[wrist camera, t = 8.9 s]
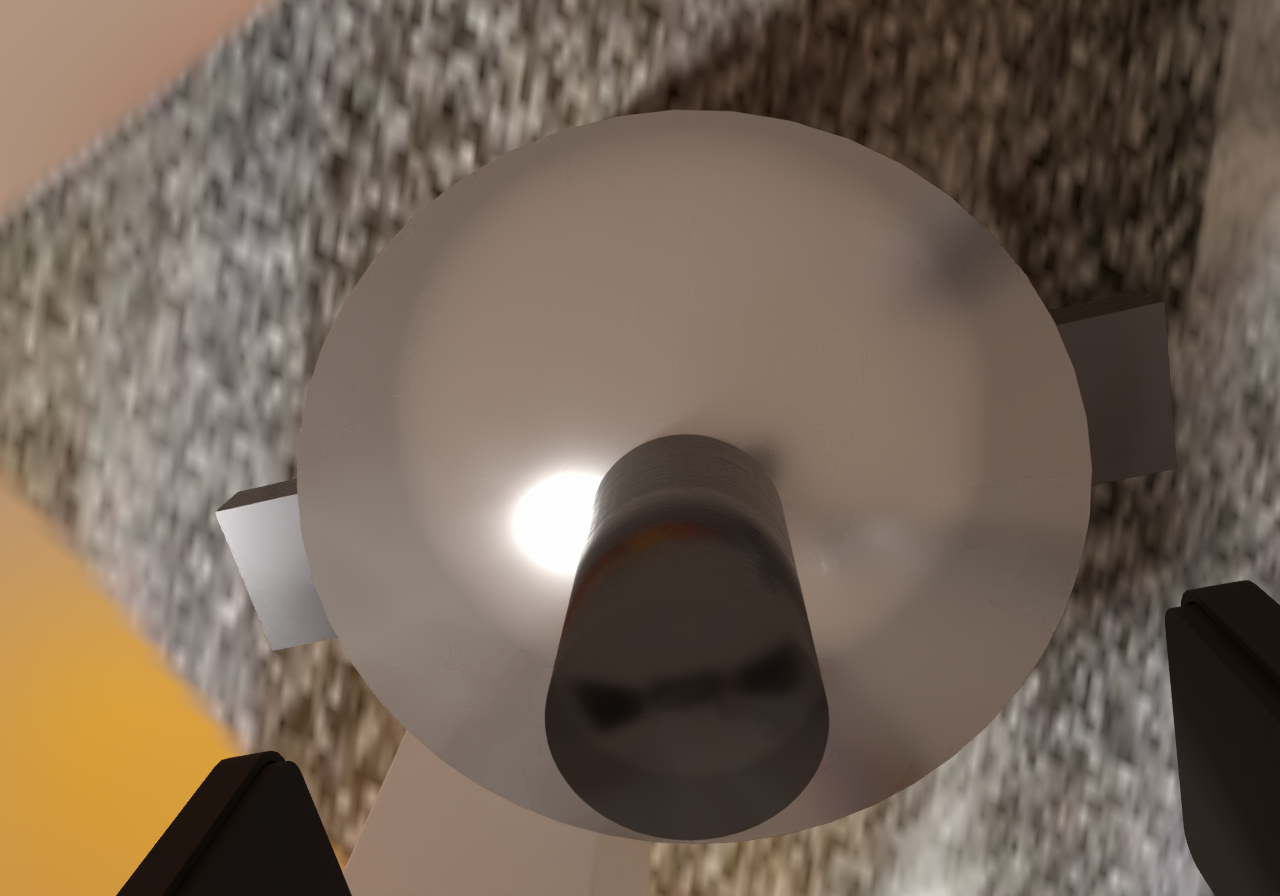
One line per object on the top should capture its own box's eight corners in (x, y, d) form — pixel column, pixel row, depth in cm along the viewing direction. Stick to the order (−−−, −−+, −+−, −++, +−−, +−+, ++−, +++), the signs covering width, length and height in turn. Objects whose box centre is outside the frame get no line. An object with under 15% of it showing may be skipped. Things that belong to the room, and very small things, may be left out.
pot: (984, 42, 23) (1163, 7, 14) (1043, 512, 26) (1211, 708, 18) (297, 219, 25) (93, 282, 16) (442, 632, 28) (338, 858, 20)
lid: (1101, 691, 19) (1342, 1035, 12) (481, 833, 21) (377, 1204, 14) (970, -5, 15) (1213, -95, 8) (219, 245, 17) (-111, 348, 10)
